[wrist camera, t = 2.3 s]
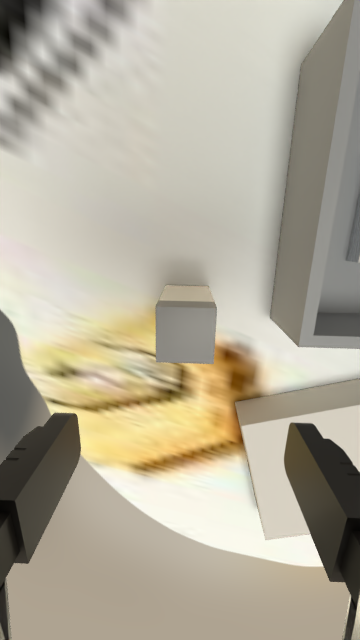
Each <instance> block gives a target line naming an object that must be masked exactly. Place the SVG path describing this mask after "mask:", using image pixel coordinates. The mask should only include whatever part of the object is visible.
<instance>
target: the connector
mask: <svg viewBox="0 0 360 640" xmlns="http://www.w3.org/2000/svg"><path fill="white" fill-rule="evenodd" d="M216 316H217V307H216V304H215V302H214V299H213V296H212V294H211V291H210V289H209V286H179V285H166V286H165V288H164V290H163V292H162V294H161V296H160V298H159V301H158V303H157V305H156V362H168V363H200V364H214V348H215V332H216Z"/></svg>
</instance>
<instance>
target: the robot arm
mask: <svg viewBox="0 0 360 640" xmlns="http://www.w3.org/2000/svg"><path fill="white" fill-rule="evenodd" d="M80 451H81V445H80V436H79V426H78V418H77V415H76V414H75V413H54V414H53V415H52V416H51V418H50V419H49V420H48V421H47V423H46V424H45V425H44V426H43V427H40V426H38V427H36V428H35V429H34V430H32V431H31V432H29V433H28V434H26V435H25V436H24V437H23V438H22V440H21V441H20V442H19V443H18V444H17V445H16V447H15V449H14V450H12V451H11V453H10V454H9V455H8V456H7V457H6V460H4V461H3V462H2V464H1V465H0V640H11V628H10V627H11V626H10V614H9V602H8V589H7V580H6V576H7V575H8V573H9V571H10V569H11V567H12V565H13V563H26V564H28V563H29V561H30V559H31V557H32V555H33V553H34V551H35V549H36V547H37V545H38V543H39V541H40V539H41V537H42V535H43V533H44V531H45V529H46V527H47V525H48V523H49V521H50V519H51V517H52V515H53V513H54V511H55V509H56V507H57V505H58V503H59V501H60V499H61V497H62V495H63V492H64V490H65V488H66V486H67V484H68V482H69V480H70V478H71V476H72V474H73V472H74V470H75V468H76V466H77V464H78V461H79V457H80ZM284 466H285V471H286V475H287V477H288V480H289V482H290V485H291V487H292V489H293V492H294V494H295V497H296V499H297V502H298V504H299V507H300V509H301V512H302V514H303V517H304V519H305V521H306V524H307V526H308V529H309V531H310V534H311V536H312V539H313V541H314V544H315V546H316V549H317V551H318V553H319V556H320V558H321V561H322V563H323V566H324V568H325V571H326V573H327V576H328V578H329V580H330V581H331V582H345V583H346V585H347V588H348V590H349V592H350V594H351V595H350V598H349V602H348V608H347V614H346V619H345V626H344V631H343V637H342V640H360V472H359V471H358V469H357V468H356V467H355V466H354V465H353V462H352V461H351V460H350V458H349V457H348V455H347V454H346V453H345V451H344V450H343V449H342V448H341V447H339V446H338V445H337V444H336V443H334V442H333V441H332V440H331V439H324V438H323V437H322V435H321V434H320V432H319V431H318V429H317V428H316V426H315V425H314V424H313V423H294V422H292V423H290V425H289V429H288V435H287V441H286V447H285V453H284Z"/></svg>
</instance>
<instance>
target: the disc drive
mask: <svg viewBox="0 0 360 640" xmlns="http://www.w3.org/2000/svg"><path fill="white" fill-rule="evenodd" d="M235 406H236V410H237V415H238V420H239V424H240V429H241V433H242V438H243V443H244V447H245V452H246V457H247V461H248V466H249V470H250V475H251V480H252V484H253V489H254V494H255V498H256V503H257V507H258V511H259V515H260V519H261V523H262V527H263V531H264V536H265V540H270V539H278V538H285V537H293V536H300V535H307V534H310V531H309V529H308V526H307V524H306V521H305V519H304V517H303V514H302V512H301V509H300V507H299V504H298V502H297V499H296V497H295V494H294V492H293V489H292V487H291V485H290V482H289V480H288V477H287V475H286V471H285V466H284V453H285V447H286V441H287V435H288V429H289V425H290V423H292V422H294V423H313V424H314V425H315V426H316V428H317V429H318V431H319V432H320V434H321V435H322V437H323V438H324V439H331V440H332V441H333V442H334V443H336V444H337V445H338V446H339V447H341V448H342V449H343V450H344V451H345V453H346V454H347V455H348V457H349V458H350V460H351V461H352V462H353V465H354V466H355V467H356V468H357V469H358V471H359V472H360V379H354V380H349V381H344V382H339V383H333V384H328V385H323V386H318V387H312V388H307V389H302V390H296V391H291V392H286V393H281V394H275V395H270V396H265V397H259V398H254V399H249V400H244V401H238V402H235Z"/></svg>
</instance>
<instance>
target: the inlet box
mask: <svg viewBox="0 0 360 640" xmlns="http://www.w3.org/2000/svg"><path fill="white" fill-rule="evenodd" d="M270 318H271V319H272V320H273V321H274V322H275V323H276V324H277V325H278V326H279V328H280V329H281V330H282V331H283V332H284V333H285V334H286V335H287V336H288V337H289V338H290V339H291V340H292V341H293V342H294V343H295V344H296V345H297V346H298V347H317V348H350V349H360V0H344V1H343V2H342V4H341V5H340V7H339V8H338V10H337V11H336V13H335V14H334V16H333V17H332V19H331V21H330V22H329V24H328V25H327V27H326V28H325V30H324V31H323V33H322V34H321V36H320V37H319V39H318V40H317V42H316V43H315V45H314V46H313V48H312V49H311V51H310V53H309V54H308V56H307V57H306V59H305V60H304V62H303V63H302V65H301V70H300V78H299V86H298V94H297V102H296V111H295V119H294V127H293V135H292V143H291V151H290V159H289V167H288V175H287V184H286V192H285V200H284V208H283V216H282V224H281V232H280V240H279V249H278V257H277V265H276V273H275V281H274V289H273V297H272V305H271V314H270Z"/></svg>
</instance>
